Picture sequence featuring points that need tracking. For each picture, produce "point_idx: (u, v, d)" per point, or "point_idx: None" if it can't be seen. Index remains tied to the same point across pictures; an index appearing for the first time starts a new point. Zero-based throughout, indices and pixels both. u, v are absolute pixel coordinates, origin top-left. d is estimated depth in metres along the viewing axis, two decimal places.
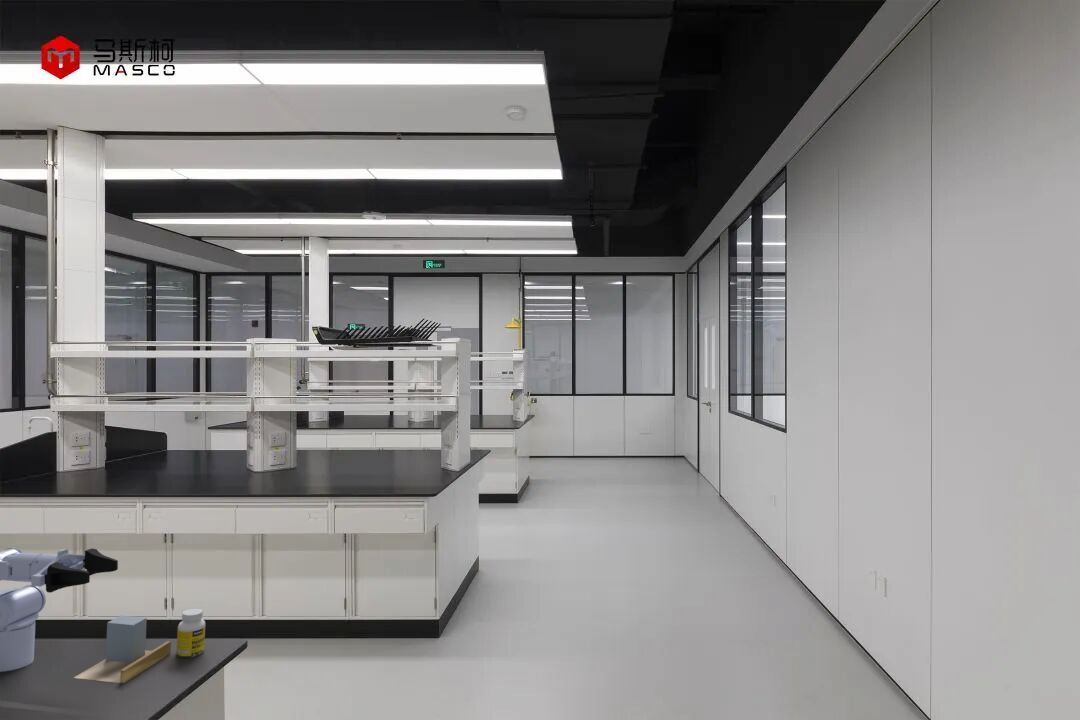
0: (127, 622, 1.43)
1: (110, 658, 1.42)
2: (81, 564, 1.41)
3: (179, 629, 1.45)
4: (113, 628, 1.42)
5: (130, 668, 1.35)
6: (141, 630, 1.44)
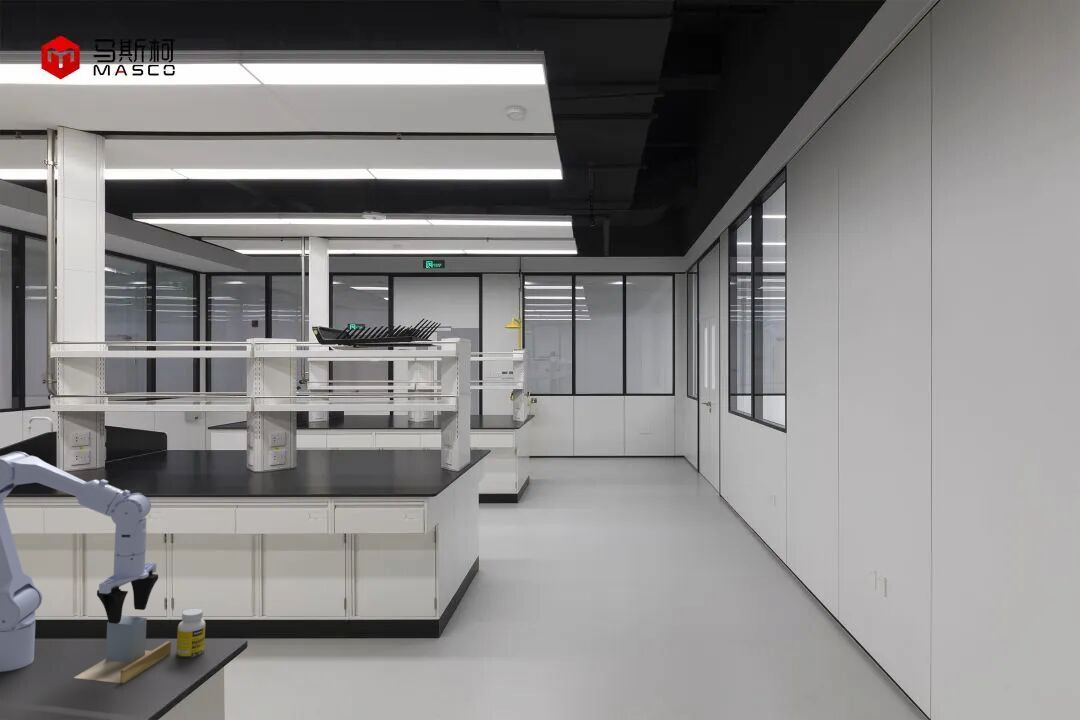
0: (127, 622, 1.43)
1: (110, 658, 1.42)
2: None
3: (179, 629, 1.45)
4: (113, 628, 1.42)
5: (130, 668, 1.35)
6: (141, 630, 1.44)
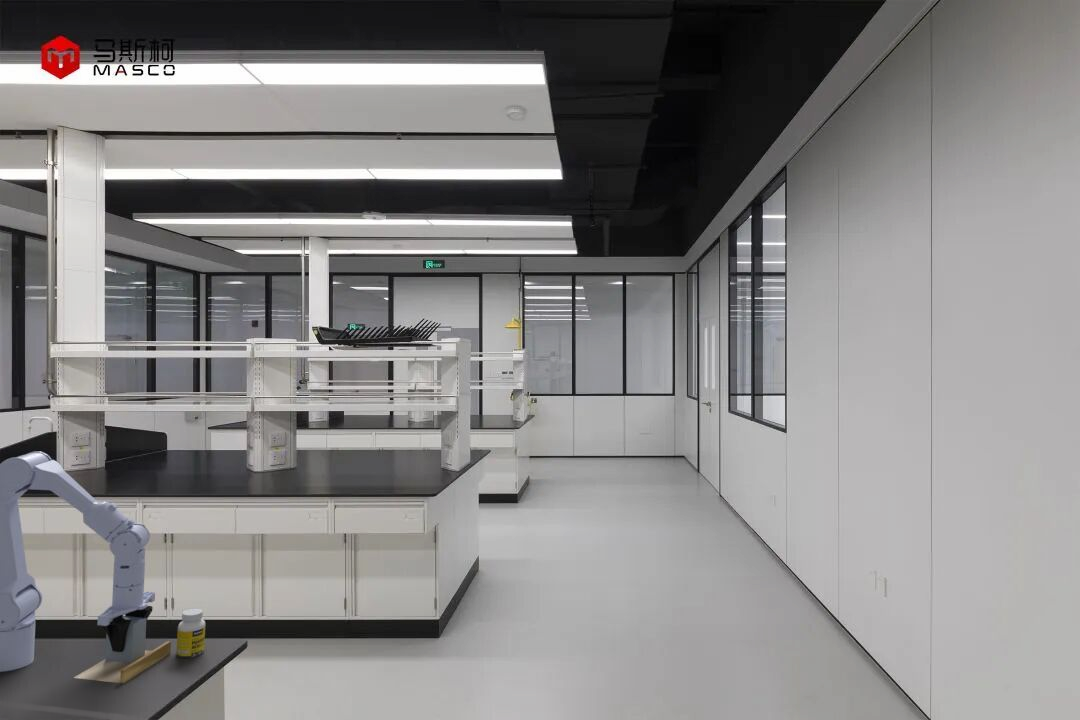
0: None
1: (109, 658, 1.42)
2: None
3: (179, 629, 1.45)
4: None
5: (130, 668, 1.35)
6: (141, 630, 1.44)
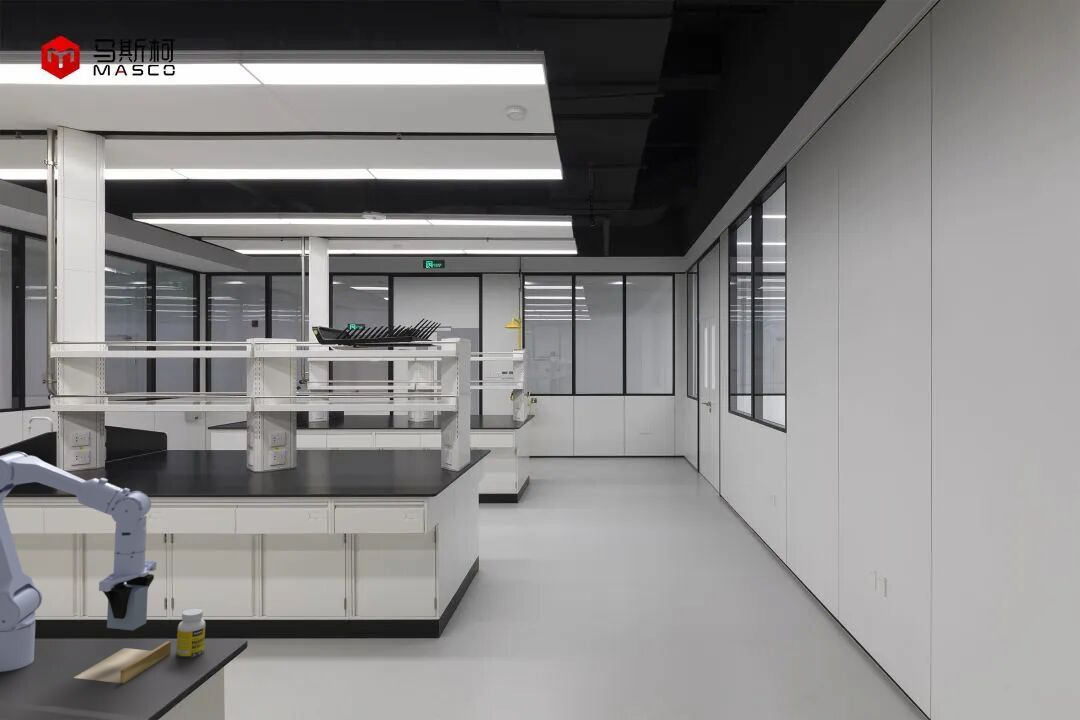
0: None
1: (111, 626, 1.42)
2: None
3: (179, 629, 1.45)
4: None
5: (130, 668, 1.35)
6: (142, 598, 1.44)
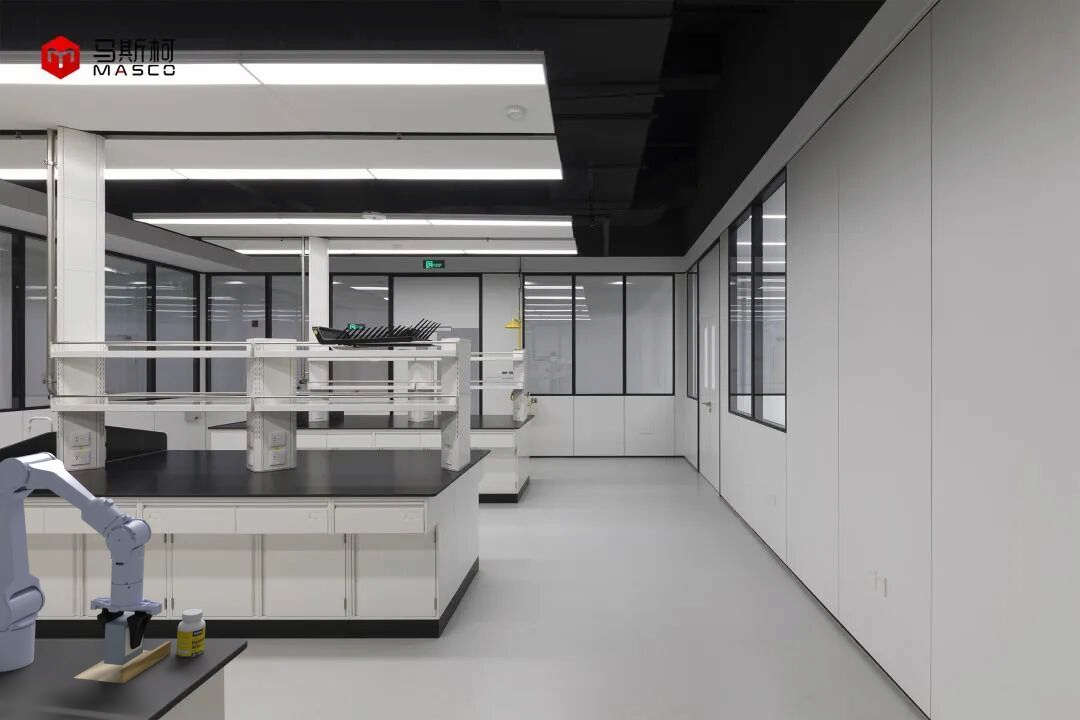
0: (118, 620, 1.38)
1: None
2: None
3: (179, 629, 1.45)
4: None
5: (130, 668, 1.35)
6: (116, 635, 1.36)
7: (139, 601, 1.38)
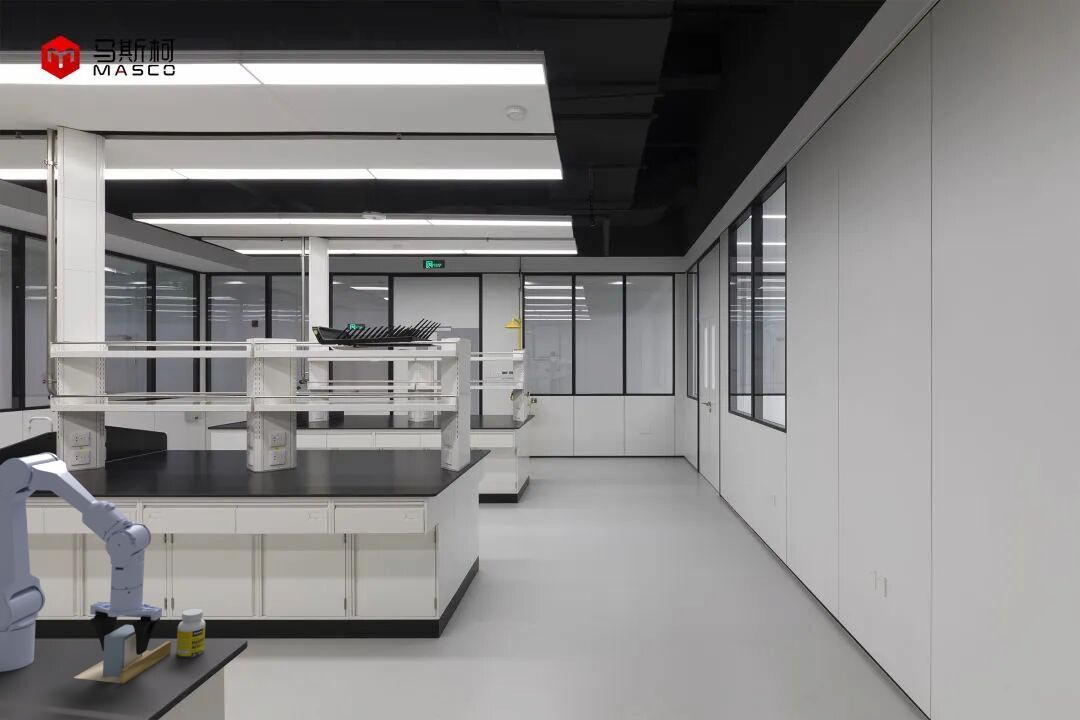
0: (117, 632, 1.38)
1: None
2: None
3: (179, 629, 1.45)
4: None
5: (130, 668, 1.35)
6: (115, 648, 1.36)
7: (139, 606, 1.38)
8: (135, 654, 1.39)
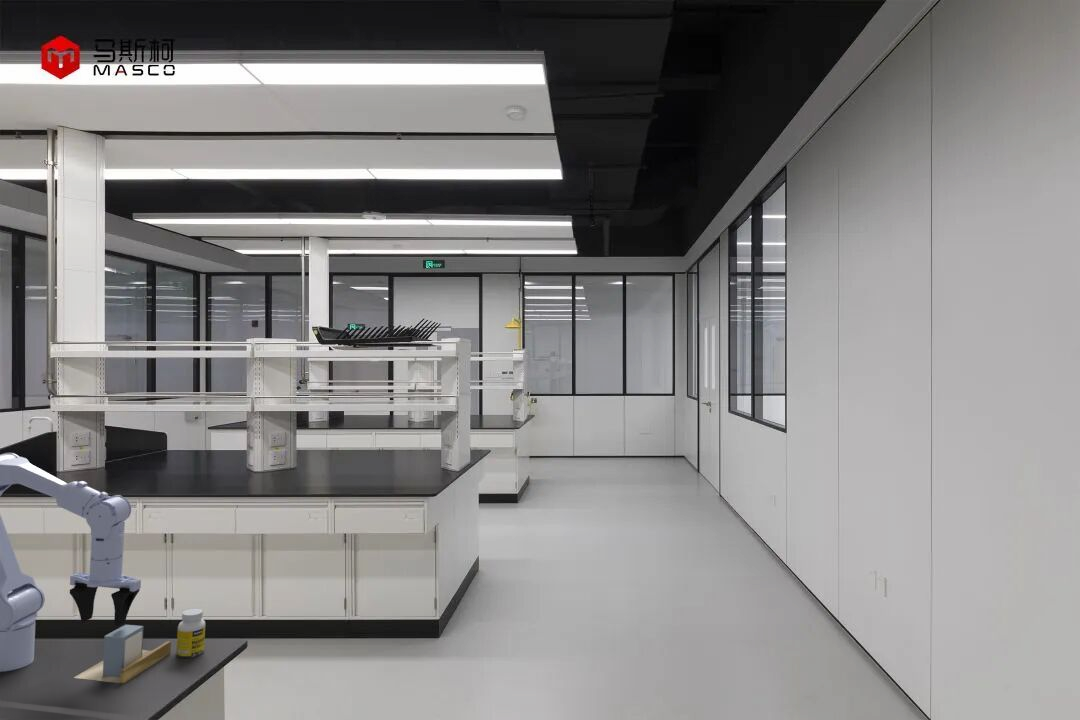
0: (117, 632, 1.38)
1: None
2: None
3: (179, 629, 1.45)
4: None
5: (130, 668, 1.35)
6: (115, 648, 1.36)
7: (118, 577, 1.39)
8: (135, 654, 1.39)
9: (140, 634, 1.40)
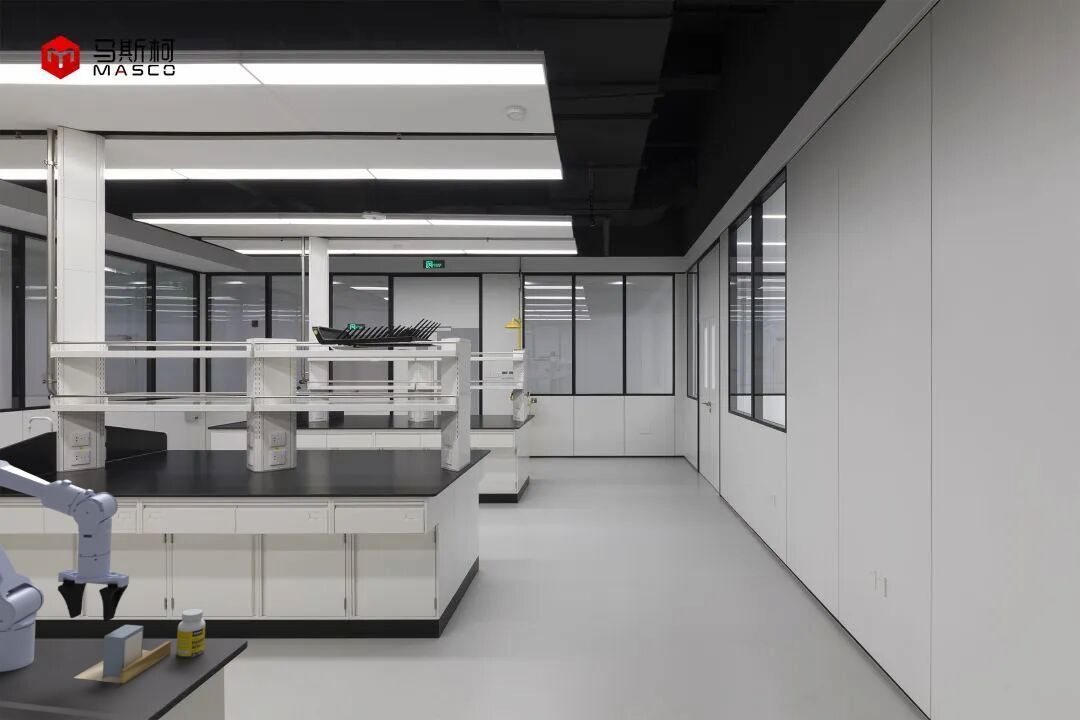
0: (117, 632, 1.38)
1: None
2: None
3: (179, 629, 1.45)
4: None
5: (130, 668, 1.35)
6: (115, 648, 1.36)
7: (106, 573, 1.40)
8: (135, 654, 1.39)
9: (140, 634, 1.40)
